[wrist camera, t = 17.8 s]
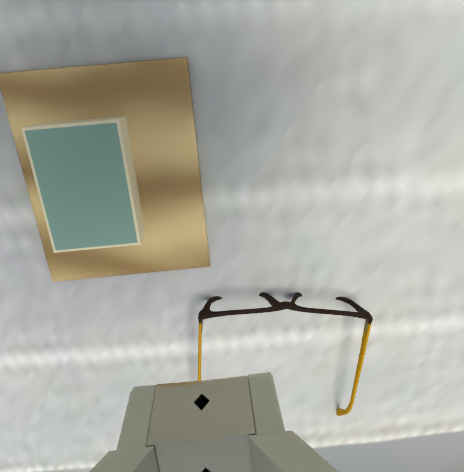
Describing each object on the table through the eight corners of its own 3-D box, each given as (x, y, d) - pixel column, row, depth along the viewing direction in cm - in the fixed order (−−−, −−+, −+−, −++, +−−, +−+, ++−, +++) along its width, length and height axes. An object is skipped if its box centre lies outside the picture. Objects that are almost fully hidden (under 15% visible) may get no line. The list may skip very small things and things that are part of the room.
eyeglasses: (359, 285, 36) (376, 309, 33) (337, 411, 42) (350, 444, 38) (199, 284, 35) (198, 308, 32) (197, 413, 41) (196, 446, 37)
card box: (125, 115, 29) (35, 123, 29) (118, 119, 27) (20, 127, 27) (145, 232, 32) (64, 240, 32) (140, 244, 30) (53, 253, 30)
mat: (-1, 73, 28) (-4, 73, 28) (187, 57, 28) (187, 57, 28) (54, 279, 34) (52, 281, 34) (209, 264, 34) (209, 266, 34)
